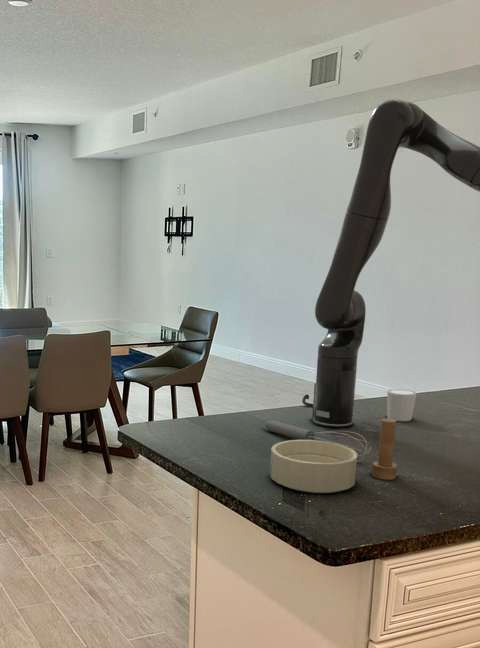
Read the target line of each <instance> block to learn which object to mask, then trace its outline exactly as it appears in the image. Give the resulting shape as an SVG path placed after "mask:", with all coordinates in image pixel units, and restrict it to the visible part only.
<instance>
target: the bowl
mask: <svg viewBox="0 0 480 648" xmlns="http://www.w3.org/2000/svg"><path fill="white" fill-rule="evenodd" d="M337 443H338V442H335V443H333V442H329V441H327V442H326V440H324V441H322V440H318V439H314V440H299V439H289V440H284V441H280V442H277V443H275V444H273V445H272V447H271V449H270V463H269V476H270V478H271V480H273V482H275V483H276V484H278V485H281V486H283V487H285V488H287V489H291V490H294V491H299V492H302V493H303V492H304V493H313V494H331V493H338V492H342V491H346V490H349V489H351V488H352V487H354V486H355V484H356V479H357V478H356V477H357V466H358V462H357V461H358V457H357V456H359V455H358V452H357V451H356V450H353V449H354V448H350V446H349V447H347V446H348V445H346V446H344V444H343V445H340V444H341V443H339V444H337Z"/></svg>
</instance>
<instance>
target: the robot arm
mask: <svg viewBox="0 0 480 648" xmlns="http://www.w3.org/2000/svg"><path fill="white" fill-rule="evenodd" d="M363 143H364V144H363V149H362V154H361V158H360V163H359V168H358V171H357V175H356V178H355V181H354V185H353V188H352V192H351V196H350V200H349V202H348V204H347V208H346V211H345V215H344V218H343V221H342V225H341V229H340V230H341V231H340V233H339V236H338V240H337V243H336V247H335V249H334V253H333V257H332V260H331V264H330V266H329V270H328V272H327V275H326V277H325V280H324V282H323V285H322V287H321V290H320V292H319V293H318V297H317V299H316V302H315V306H314V307H315V308H314V317H315V320H316V322H317V324H318V325H319V326H320V327H322V328H323V329H325V330H327V332H326V335H325V337H324V338H323V339H322V341H320V343H319V344H318V346H317V362H316V376H315V378H316V379H315V383H314V386H313V387H314V388H313V389H314V390H313V399H312V400H313V402H311V403H310V402H307V401H306V400H310V395H309V394H305V395H304V396H303V397H302V400H301V401H302V404H303V405H305V406H307V407H311V408H312V416H311V417H312V422H313V424H315V425H317V426H322V427H325V428H348V427H351V426H353V425H354V420H353V416H354V408H355V407H354V406H355V405H354V404H355V393H356V382H357V371H358V369H357V367H358V356H359V350H360V347H361V345H362V343H363V339H364V330H365V322H366V314H367V313H366V310H367V309H366V301H365V299H364V297H363V296H362V294H361V293H360V292H359V291H358V290H355V288H356V285H357V281H358V279H359V276H360V274H361V273H362V271H363V269H364V267H365V265H366V264H367V263H368V261H369V260H370V258H372V256H373V254H374V253H375V251H376V250H377V249H378V246H379V245H380V243H381V241H382V238H383V236H384V233H385V230H386V227H387V224H388V222H389V219H390V213H391V209H392V191H391V177H392V176H391V174H392V168H393V165H394V161H395V158H396V155H397V153H398V149H399V148H400V147H401V148H405V149H408V150H411V151H413V152H416V153H419V154H420V155H421V154H422V155H424V156H425V157H427V158H429V159H430V160H432V161H433V162H434V163H436V164H437V165H438V166H439V167H440V168H441V169H442V170H443V171H445V173H447V174H448V175H449V176H451V177H452V178H454V179H455V180H457V181H458V182H461V183H462V184H464V185H465V186H467V187H468V188H471V189H473V190H475V191H476V192H478V193H480V146H479V145H477V144H474V143H473V142H471V141H469V140H467V139H465V138H463V137H460V136H458V135H456V134H455V133H453V132H452V131H450V130H448V129H447V128H446V127H444V126H442V124H440V123H438V122H437V121H436V120H435V119H434V118H432V117H431V116H430V115H429V114H428V113H426V112H425V111H424V110H423V109H422V108H421V107H419V106H418V105H417V104H416V103H414V102H411V101H407V100H402V99H399V98H398V99H396V98H389V99H386V100H384V101H382V102H380V103H379V104H378V105H377V106H376V107H375V108H374V109H373V111H372V113H371V115H370V117H369V120H368V123H367V128H366V132H365V137H364V142H363Z"/></svg>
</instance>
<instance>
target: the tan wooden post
mask: <svg viewBox="0 0 480 648" xmlns="http://www.w3.org/2000/svg"><path fill="white" fill-rule="evenodd" d="M396 429H397V421H396V420H394V419H388V418H382V419H381V423H380V434H379V446H378V455H377V456H378V457H377V461H374V462H372V465H371V466H372V469H371V476H372V477H374V478H375V479H378V480H385V481H387V480H388V481H390V480H395V479H397V471H398V465H397V464H396V463H394V461H393V460H394V451H395V450H394V449H395V439H396Z"/></svg>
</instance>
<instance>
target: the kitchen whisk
mask: <svg viewBox="0 0 480 648" xmlns="http://www.w3.org/2000/svg"><path fill="white" fill-rule="evenodd" d="M263 428H264V429H265V430H266V432H272V433H274V434H278V435H282V436H285V437H289V438H293V439H294V440H318V441H326V442H331V443H337V444H340V445H343V446H347V447H349V448H351V449H353V450H354V451H355V452H358V453H362V454H360V455H357V458H358V457H361V456H362V457H361V458H360V459H359V460H357V463H363V462H366V461H367V459H368V455H371V452H370V451H371V450H372V447H370V448H369V450H367V448H368V444H369V442H368V441H367V440H366V439H365V437H364V436H362V435H361V434H359V433H356V432H353V431H350V434H355V435H357V436H360V437H361V438H362V439H358V438H356V437H354V436H352V435H349V434H347V433H349V431H347V430H339V432H338V431H335V430H327V431H318V432H316V433H315V432H314V431H313V430H311V429H307V428H306V429H305V428H302V427H299V426H295V425H292V424H287V423H283V422H280V421H276V420H273V419H271V420H269V419H266V420H265V421H264V422H263ZM341 432H342V433H341ZM322 433H323V434H322ZM324 433H325V434H324ZM326 433H327V434H326ZM328 433H331V434H341V435H345V436H344V438H346V439H351V440H352V439H353V440H356V441H357V442H358V443H359V444H360V445H361V446H362V447H363V449H364V450H362V449H359V448H356V447H353V446H349V445H346V444H342V443H339V442H335V441H331V440H328V439H324V438H320V436H321V437H330V435H329V434H328ZM316 436H319V437H316ZM334 437H337V438H343V436H340V435H334ZM361 442H365V445H366V446H365V445H363V443H361ZM364 457H366V458H365V460H363V459H364Z"/></svg>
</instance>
